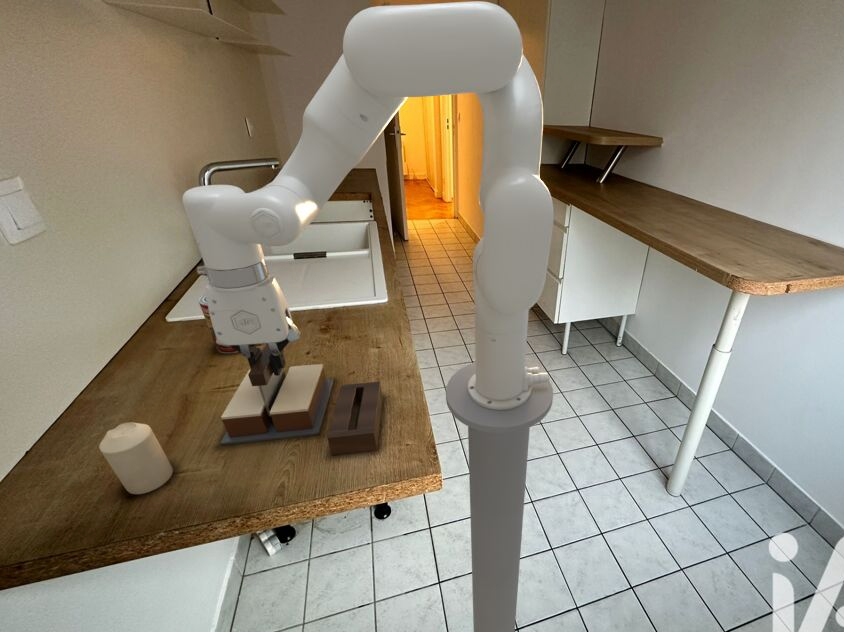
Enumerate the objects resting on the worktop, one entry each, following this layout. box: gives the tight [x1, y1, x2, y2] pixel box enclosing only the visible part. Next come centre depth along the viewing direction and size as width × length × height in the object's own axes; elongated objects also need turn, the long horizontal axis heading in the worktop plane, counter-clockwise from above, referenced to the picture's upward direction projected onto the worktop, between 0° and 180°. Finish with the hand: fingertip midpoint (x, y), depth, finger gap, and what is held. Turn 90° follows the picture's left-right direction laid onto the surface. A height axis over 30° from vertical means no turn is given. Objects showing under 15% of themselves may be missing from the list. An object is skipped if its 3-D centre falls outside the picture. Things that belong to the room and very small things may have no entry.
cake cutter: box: [248, 343, 287, 416], centre depth 71 cm, size 10×2×9 cm, turn 11°
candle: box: [98, 421, 174, 495], centre depth 59 cm, size 6×6×10 cm
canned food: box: [198, 293, 239, 354], centre depth 90 cm, size 8×8×12 cm
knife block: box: [327, 381, 384, 456], centre depth 72 cm, size 13×7×4 cm, turn 11°
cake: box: [220, 363, 335, 446], centre depth 74 cm, size 15×15×5 cm
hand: (270, 370), depth 71 cm, fingers closed on cake cutter, 2 cm apart
